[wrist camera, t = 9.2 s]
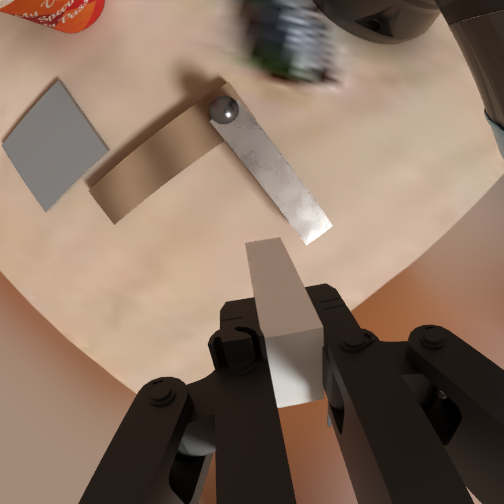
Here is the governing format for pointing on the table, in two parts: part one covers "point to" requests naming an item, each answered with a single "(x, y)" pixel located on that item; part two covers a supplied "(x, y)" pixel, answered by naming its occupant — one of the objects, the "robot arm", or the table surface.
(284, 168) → the bar
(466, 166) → the table surface
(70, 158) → the slate pad
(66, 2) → the coffee cup
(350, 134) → the table surface
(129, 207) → the base
